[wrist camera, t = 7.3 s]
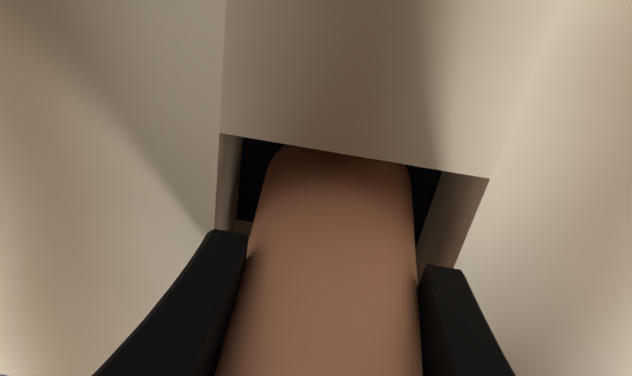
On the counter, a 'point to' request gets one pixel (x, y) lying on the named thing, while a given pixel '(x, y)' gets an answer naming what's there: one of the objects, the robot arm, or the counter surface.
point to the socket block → (322, 134)
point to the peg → (328, 272)
